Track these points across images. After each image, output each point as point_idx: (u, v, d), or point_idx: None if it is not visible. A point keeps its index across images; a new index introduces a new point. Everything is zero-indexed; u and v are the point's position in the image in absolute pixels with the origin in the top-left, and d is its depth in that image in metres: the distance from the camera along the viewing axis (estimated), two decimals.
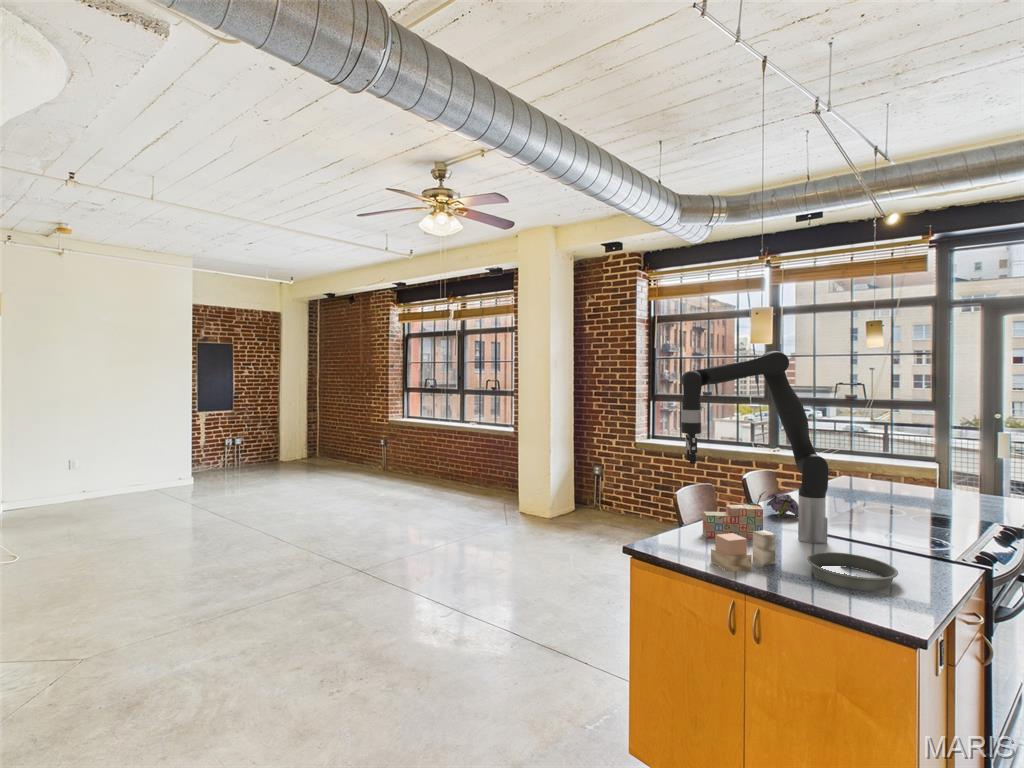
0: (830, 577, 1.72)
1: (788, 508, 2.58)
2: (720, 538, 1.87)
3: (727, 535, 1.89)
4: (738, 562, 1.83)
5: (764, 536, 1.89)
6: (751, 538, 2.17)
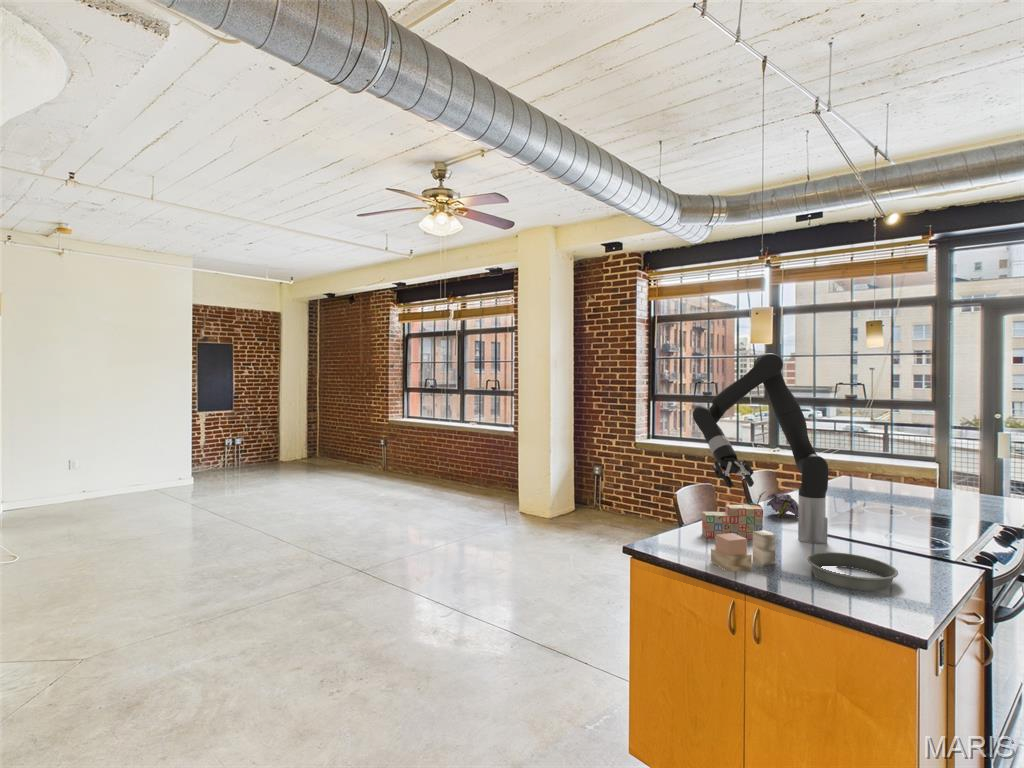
0: (830, 577, 1.72)
1: (788, 508, 2.58)
2: (720, 538, 1.87)
3: (727, 535, 1.89)
4: (738, 562, 1.83)
5: (764, 536, 1.89)
6: (750, 538, 2.17)
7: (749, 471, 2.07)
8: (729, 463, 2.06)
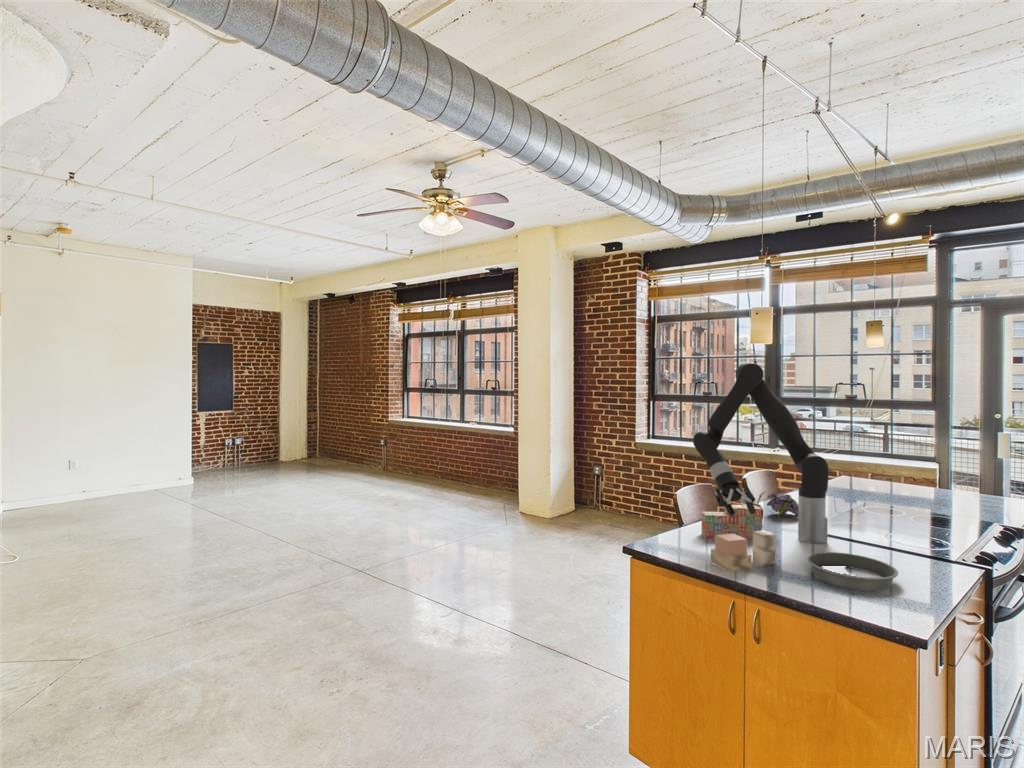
0: (830, 577, 1.72)
1: (788, 508, 2.58)
2: (720, 538, 1.87)
3: (727, 535, 1.89)
4: (738, 562, 1.83)
5: (764, 536, 1.89)
6: (750, 538, 2.17)
7: (751, 498, 2.06)
8: (731, 490, 2.06)
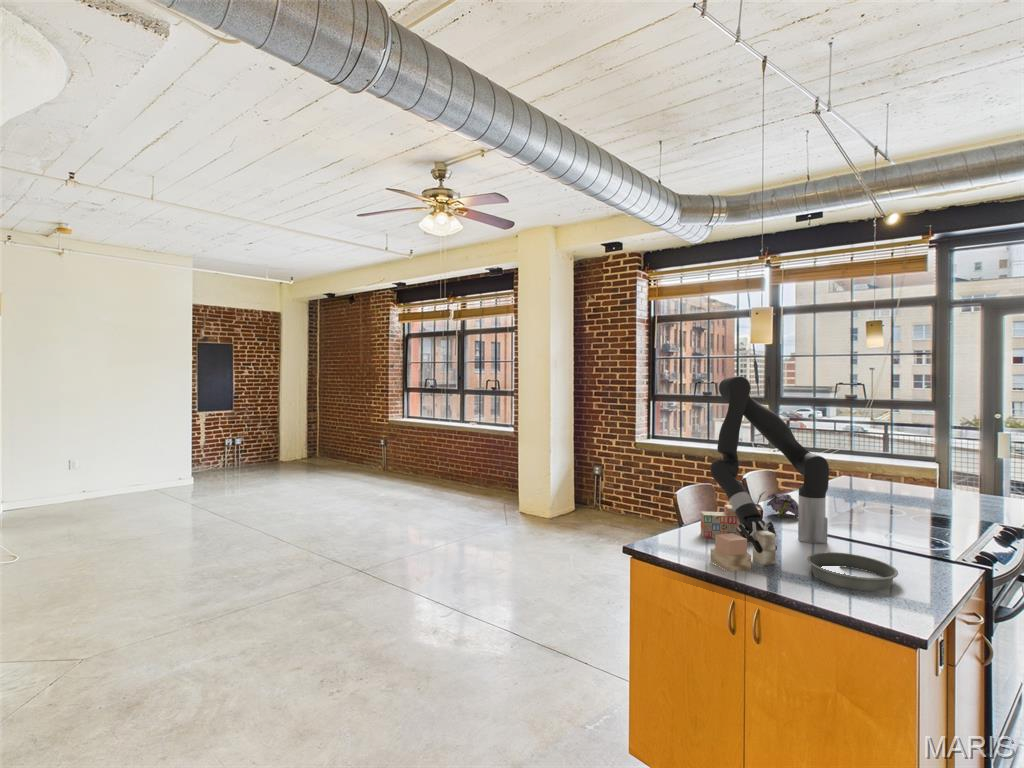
0: (830, 577, 1.72)
1: (788, 508, 2.58)
2: (720, 538, 1.87)
3: (727, 535, 1.89)
4: (738, 562, 1.83)
5: (764, 536, 1.88)
6: None
7: None
8: (753, 524, 1.94)
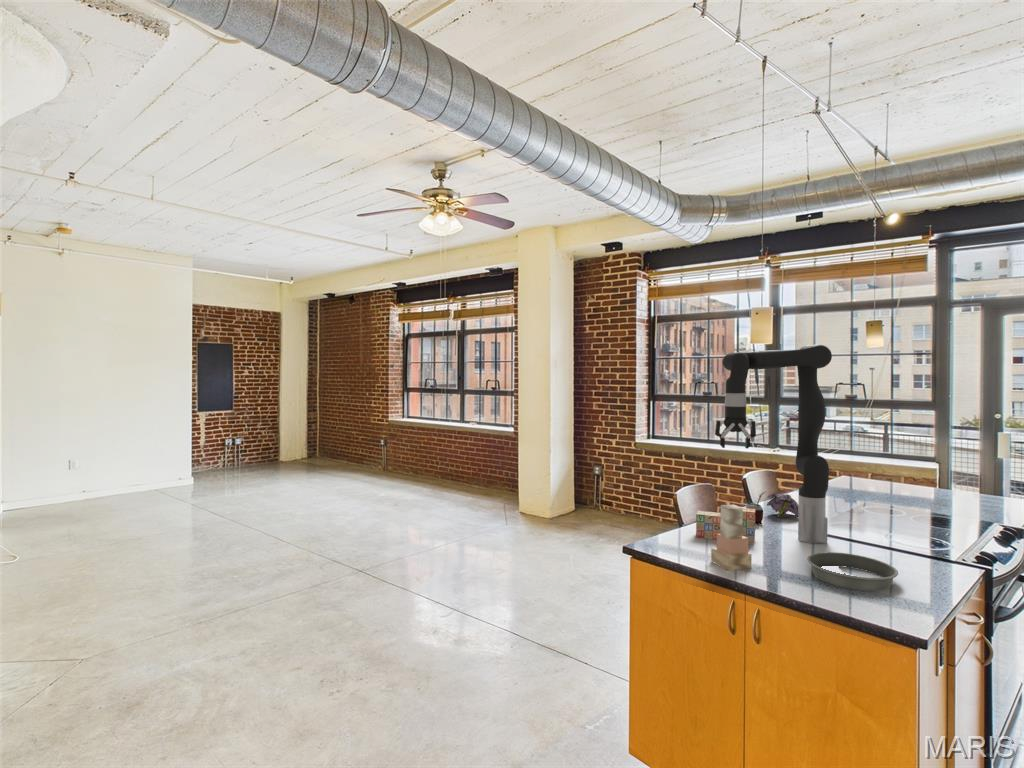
0: (830, 577, 1.72)
1: (788, 508, 2.58)
2: (722, 537, 1.88)
3: None
4: (738, 561, 1.84)
5: (730, 509, 1.85)
6: None
7: (752, 433, 2.11)
8: (731, 425, 2.11)
